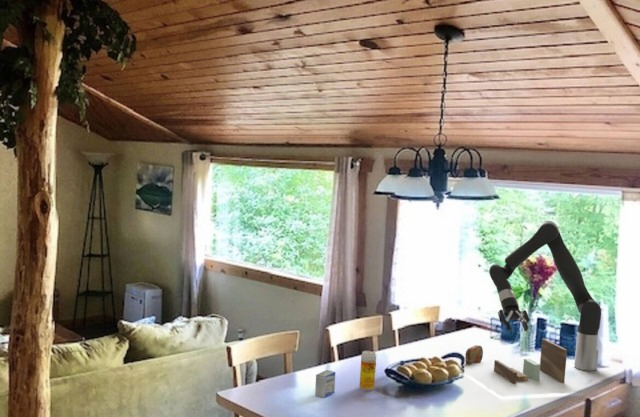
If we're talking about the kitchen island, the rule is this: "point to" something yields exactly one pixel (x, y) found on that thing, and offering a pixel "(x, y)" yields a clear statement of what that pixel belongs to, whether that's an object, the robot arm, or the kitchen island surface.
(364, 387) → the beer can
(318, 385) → the medicine box
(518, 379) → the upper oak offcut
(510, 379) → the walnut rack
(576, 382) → the kitchen island surface
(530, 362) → the pale green block
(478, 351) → the brown rounded slab
